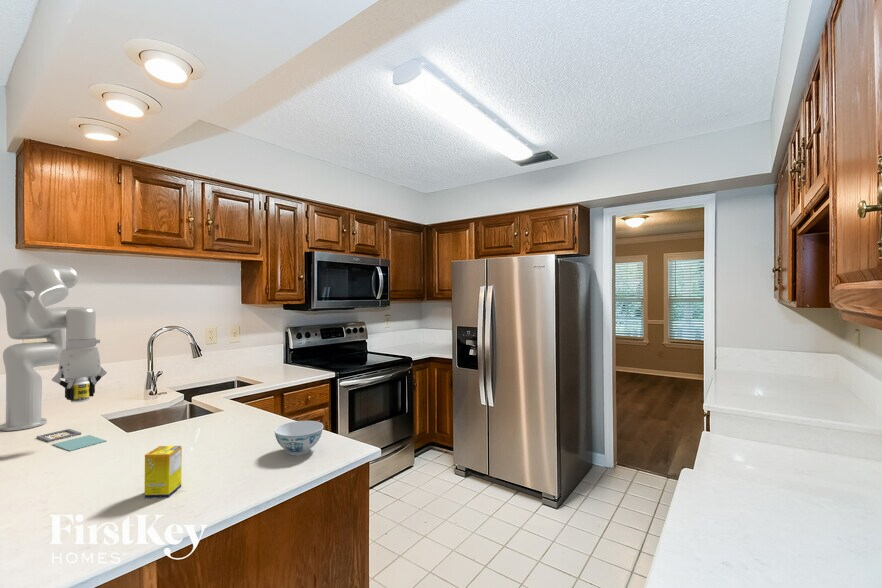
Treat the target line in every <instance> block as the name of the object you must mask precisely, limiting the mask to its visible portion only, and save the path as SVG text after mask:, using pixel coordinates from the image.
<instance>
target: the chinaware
mask: <svg viewBox="0 0 882 588" xmlns="http://www.w3.org/2000/svg"><path fill="white" fill-rule="evenodd" d="M323 430H324V424H323V423H322V422H320V421H315V420H295V421H290V422H286V423H283V424H280V425H279V426H277V427H276V428H274V437H275V439H276V441H277V444H279V446H280V447H281V448H282V449H284V450H285V451H286V452H287V453H288V455H291V456H301V455H306V454H309V453H310V452H311V449H312V448H314V446H315V445H316V444H317V443H318V442H319V441H320V438H321V436H322V434H323Z"/></svg>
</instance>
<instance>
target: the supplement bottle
mask: <svg viewBox="0 0 882 588" xmlns="http://www.w3.org/2000/svg"><path fill="white" fill-rule="evenodd" d="M88 379H89V378H88V377H81V378H77V379H74V381H73V384H72V388H73V389H74V399H73V400H70V403H83V402H87V401H88V402H89V400H90V396H89V391H90V382H89V381H88Z"/></svg>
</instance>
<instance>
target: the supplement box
mask: <svg viewBox="0 0 882 588" xmlns="http://www.w3.org/2000/svg"><path fill="white" fill-rule="evenodd" d="M182 451H183V449H182V445H158V446H157V447H156V448H154V449H152V450H150V451H149V452H147V453H145V454H144V499H159V498H160V499H162V498H170V496H172V495H173V494H175V492H177V491H178V490H179V489H180V488H181V487H182V457H183V455H182V453H183V452H182Z"/></svg>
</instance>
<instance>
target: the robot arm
mask: <svg viewBox="0 0 882 588" xmlns="http://www.w3.org/2000/svg"><path fill="white" fill-rule="evenodd" d="M78 280H79V274H78V273H77V270H75V268H73V267H72V266H68V265H60V264H46V263H44V264H43V263H42V264H41V263H40V264H33V265H30V266H28V267H27V268H9V269H5V270H2V271H1V272H0V295H1V297H2V299H3V302H4V305H5V316H6V328H7V329H6V330H7V335H8V337H9V338H10V339H12V340H18V341H20V340H21V341H22V340H37V339H38V340H39V339H45V340H46V341H39V342H38V341H37V342H36V341H35V342H32V341H31V342H24V343H23V342H22V343H20V342H19V343H15V344H12V345H9V346H7V347H6V348H4V350H3V353H2V360H3V365H4V370H5V423H3V424H1V425H0V431H3V432H4V431H5V432H12V431H22V430H27V429H33V428H36V427H39V426H43V425H45V424H47V422H48V419H47V418H44V417H42V401H43V399H42V397H43V396H42V395H43V392H42V391H43V389H42V387H43V381H42V380H43V379H42V376H41V375H40V373H38V372H37V371H36V370H35V369H34V368H38V367H46V366H53V365H58V372H57V373H56V374H55V375H54V376H53V377H52V378H51V381H52V382H54V383H55V384H58V385H59V386H61V387H63V388H64V398H65V399H66V400H68V401H71V400H73V399H74V389H73V388H72V384H73V382H74V379H77V378H81V377H88V378H89V379H88V381H89V382H90V391H89V398H90V397H94V396H95V395H94V394H95V392H96V385H97V384H98V382H99V381H100V380H101V378H102V377H104V376H105V375H107V373H108V372H107V371H106V370H105V369H104V368H103V367H102V366H101V357H100V352H99V349H98V347H97V344H100V343H101V340H100V339H97V338H96V323H97V322H96V318H97V317H96V316H97V315H96V313H97V312H96V310H95V309H94V308H92V307H91V308H90V307H83V306H58V307H57V306H54V307H53V306H52V305H55V304H58V303H60V302H62V301H64V300H65V299H66V298H67V297H68V295H69V289H71V288H74V287H75V286H76V285H77V283H78ZM27 292H33V293H34V295H33V296H32V295H30V294H29V293H27ZM49 306H50V307H49ZM62 379H65V380H62Z"/></svg>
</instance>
